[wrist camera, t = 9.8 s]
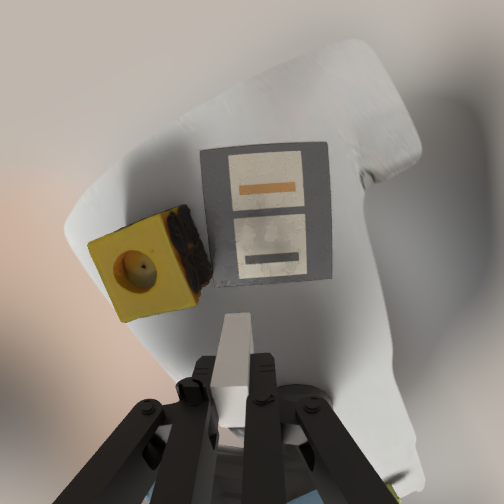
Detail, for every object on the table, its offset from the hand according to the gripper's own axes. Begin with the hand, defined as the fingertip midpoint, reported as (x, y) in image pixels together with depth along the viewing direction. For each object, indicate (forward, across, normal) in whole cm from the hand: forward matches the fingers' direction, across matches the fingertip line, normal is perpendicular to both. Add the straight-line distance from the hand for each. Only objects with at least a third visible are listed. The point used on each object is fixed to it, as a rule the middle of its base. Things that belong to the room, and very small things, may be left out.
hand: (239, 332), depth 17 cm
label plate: (+20, -3, -4) cm, 21 cm away
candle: (+20, +11, -1) cm, 23 cm away
